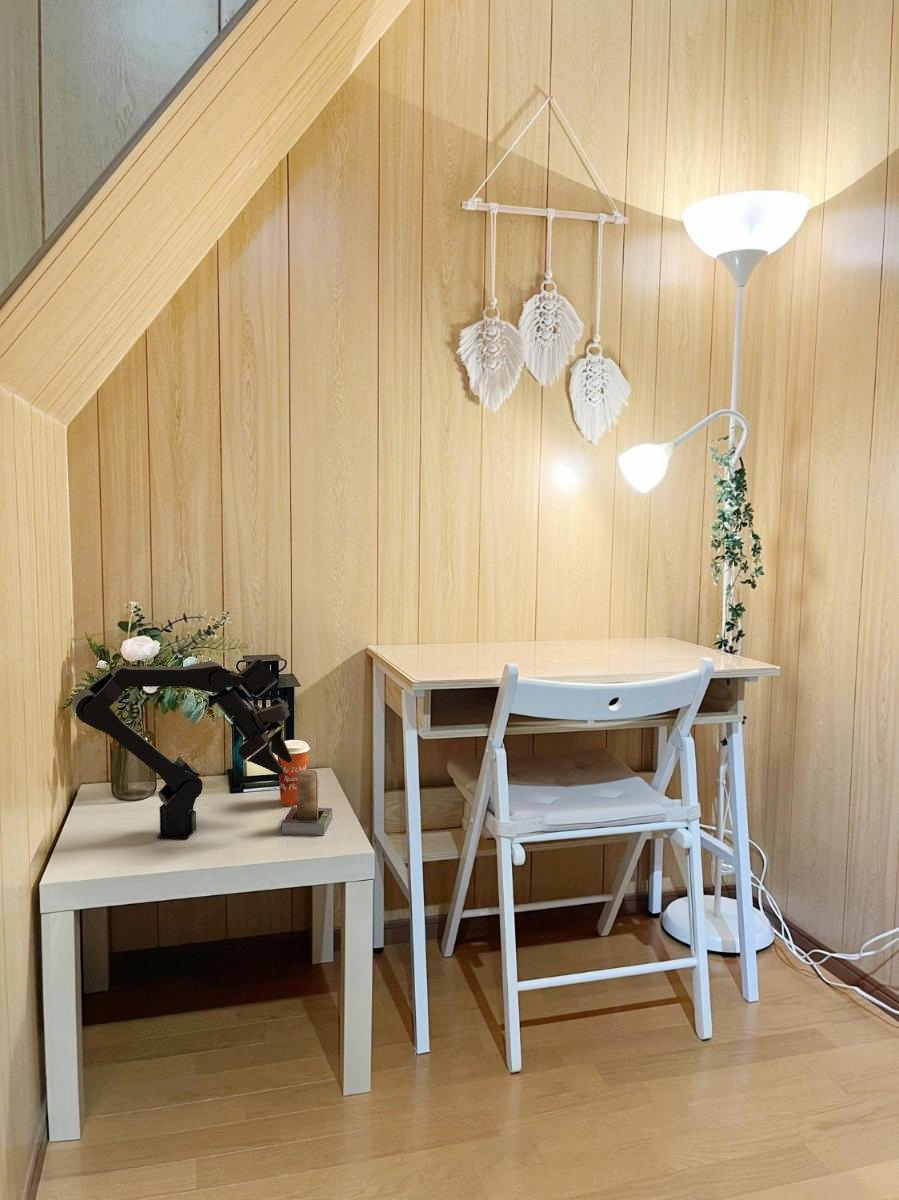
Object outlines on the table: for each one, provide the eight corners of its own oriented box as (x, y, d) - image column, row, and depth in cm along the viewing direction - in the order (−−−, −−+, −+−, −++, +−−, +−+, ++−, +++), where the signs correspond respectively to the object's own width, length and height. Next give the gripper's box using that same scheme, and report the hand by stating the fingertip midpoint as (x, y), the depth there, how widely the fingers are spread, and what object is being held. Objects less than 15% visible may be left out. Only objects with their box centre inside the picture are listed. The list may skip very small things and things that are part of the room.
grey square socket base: (282, 834, 199) (281, 821, 199) (292, 818, 209) (292, 806, 209) (324, 835, 199) (324, 823, 198) (332, 819, 208) (332, 807, 208)
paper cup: (277, 808, 215) (276, 749, 213) (275, 798, 222) (274, 740, 221) (311, 806, 217) (311, 747, 215) (308, 795, 224) (308, 738, 222)
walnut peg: (295, 829, 202) (294, 775, 200) (299, 822, 206) (298, 769, 205) (316, 830, 201) (315, 776, 200) (319, 823, 206) (319, 770, 204)
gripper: (258, 697, 191) (307, 756, 192) (278, 680, 210) (322, 734, 211) (217, 730, 192) (265, 789, 193) (240, 710, 211) (284, 764, 212)
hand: (286, 767), depth 202 cm, fingers open, 9 cm apart
